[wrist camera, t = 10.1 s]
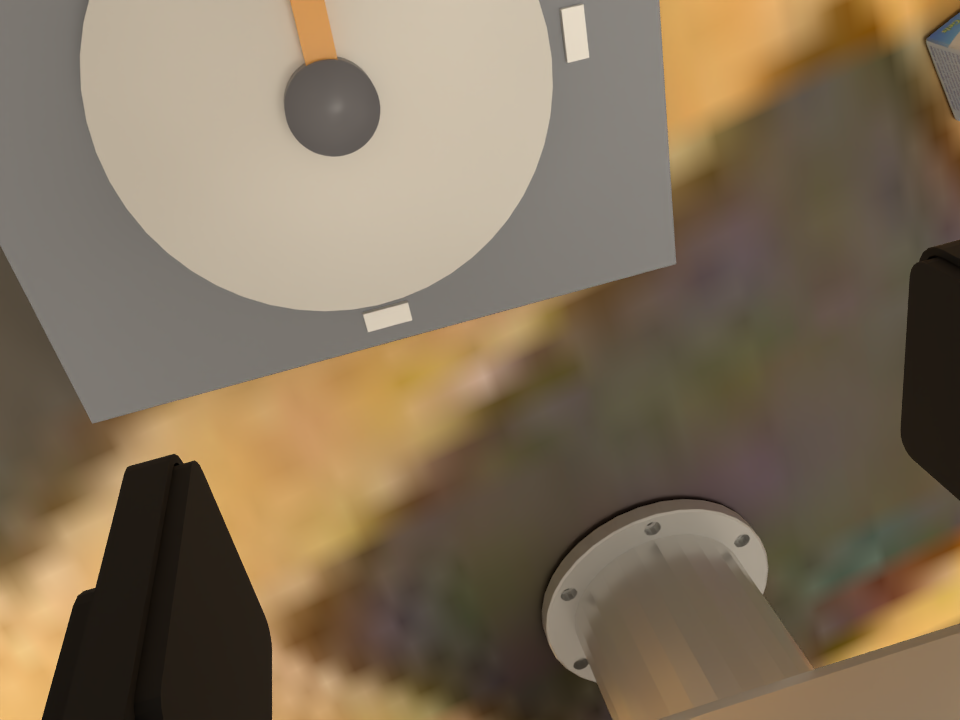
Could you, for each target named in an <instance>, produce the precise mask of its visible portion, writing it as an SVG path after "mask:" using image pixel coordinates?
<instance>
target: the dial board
mask: <svg viewBox="0 0 960 720" xmlns="http://www.w3.org/2000/svg"><path fill="white" fill-rule="evenodd" d="M539 2H540V6H541V9H542V13H543V16H544V20H545V23H546V26H547V31H548V37H549V44H550V50H551V56H552V77H553V92H552V103H551V115H550V121H549V125H548V130H547V135H546V139H545V144H544V147H543V150H542V153H541V156H540V159H539V162H538V165H537V168H536V170H535V173H534V175H533V177H532V179H531V181H530V183H529V185H528V187H527V189H526V191H525V193H524V195H523V197H522V199H521V200H520V202H519V203H518V205H517V206H516V208H515V209H514V211H513V213H512V214H511V216H510V217H509V219H508V220H507V221H506V222H505V224H504V225H503V226H502V227H501V228H500V230H499V231H498V232H497V233H496V234H495V236H494V237H493V238H492V239H491V240H490V241H489V242H488V243H487V244H486V245H485V246H484V247H483V248H482V249H481V250H480V251H479V252H478V253H477V254H476V255H474V256H473V257H472V258H471V259H470V260H468V261H467V262H466V263H464V264H463V265H462V266H460V267H459V268H458V269H456V270H455V271H454V272H452V273H451V274H449V275H448V276H446V277H444V278H442V279H441V280H439V281H437V282H436V283H434V284H432V285H430V286H429V287H427V288H424V289H422V290H420V291H417V292H415V293H413V294H410V295H408V296H406V297H403V298H400V299H397V300H393V301H390V302H387V303H383V304H380V305H376V306H370V307H364V308H359V309H353V310H338V311H311V310H296V309H290V308H285V307H279V306H273V305H269V304H265V303H262V302H259V301H255V300H252V299H248V298H245V297H242V296H240V295H237V294H235V293H233V292H231V291H228V290H226V289H224V288H221V287H219V286H217V285H215V284H213V283H211V282H210V281H208V280H206V279H205V278H203V277H201V276H199V275H198V274H196V273H194V272H192V271H191V270H190V269H188V268H187V267H186V266H184V265H183V264H182V263H180V262H179V261H178V260H176V259H175V258H174V257H172V256H171V255H170V254H168V253H167V252H166V251H165V250H164V249H163V248H162V247H161V246H160V245H159V244H158V243H157V242H156V241H154V240H153V239H152V238H151V237H150V236H149V235H148V234H147V233H146V232H145V231H144V229H143V228H142V227H141V226H140V224H139V223H138V222H137V221H136V220H135V218H134V217H133V216H132V215H131V213H130V212H129V211H128V210H127V209H126V207H125V205H124V204H123V202H122V201H121V199H120V198H119V196H118V194H117V193H116V191H115V190H114V188H113V186H112V185H111V183H110V182H109V179H108V177H107V175H106V173H105V171H104V169H103V166H102V164H101V162H100V160H99V158H98V156H97V153H96V151H95V147H94V144H93V141H92V138H91V135H90V131H89V128H88V125H87V122H86V116H85V110H84V105H83V99H82V93H81V78H80V49H81V40H82V31H83V22H84V18H85V14H86V10H87V6H88V3H89V0H0V246H1V248H2V250H3V251H4V253H5V255H6V257H7V259H8V261H9V263H10V265H11V267H12V269H13V271H14V273H15V275H16V277H17V279H18V281H19V282H20V284H21V286H22V288H23V290H24V292H25V294H26V296H27V298H28V300H29V302H30V304H31V306H32V308H33V310H34V312H35V313H36V315H37V317H38V319H39V321H40V323H41V325H42V327H43V329H44V331H45V333H46V335H47V337H48V339H49V341H50V343H51V344H52V346H53V348H54V350H55V352H56V354H57V356H58V358H59V360H60V362H61V364H62V366H63V368H64V370H65V372H66V374H67V375H68V377H69V379H70V381H71V383H72V385H73V387H74V389H75V391H76V393H77V395H78V397H79V399H80V401H81V403H82V405H83V406H84V408H85V410H86V412H87V414H88V416H89V418H90V420H91V422H92V424H93V423H96V422H100V421H104V420H107V419H111V418H114V417H118V416H122V415H125V414H129V413H133V412H136V411H140V410H144V409H147V408H151V407H155V406H158V405H162V404H166V403H169V402H173V401H177V400H180V399H184V398H188V397H191V396H195V395H199V394H202V393H206V392H210V391H213V390H217V389H220V388H224V387H228V386H231V385H235V384H239V383H242V382H246V381H250V380H253V379H257V378H261V377H264V376H268V375H272V374H275V373H279V372H283V371H286V370H290V369H294V368H297V367H301V366H305V365H308V364H312V363H316V362H319V361H323V360H327V359H330V358H334V357H337V356H341V355H345V354H348V353H352V352H356V351H359V350H363V349H367V348H370V347H374V346H378V345H381V344H385V343H389V342H392V341H396V340H400V339H403V338H407V337H411V336H414V335H418V334H422V333H425V332H429V331H433V330H436V329H440V328H444V327H447V326H451V325H454V324H458V323H462V322H465V321H469V320H473V319H476V318H480V317H484V316H487V315H491V314H495V313H498V312H502V311H506V310H509V309H513V308H517V307H520V306H524V305H528V304H531V303H535V302H539V301H542V300H546V299H550V298H553V297H557V296H561V295H564V294H568V293H571V292H575V291H579V290H582V289H586V288H590V287H593V286H597V285H601V284H604V283H608V282H612V281H615V280H619V279H623V278H626V277H630V276H634V275H637V274H641V273H645V272H648V271H652V270H656V269H659V268H663V267H667V266H670V265H674V264H676V255H675V240H674V224H673V208H672V193H671V177H670V162H669V146H668V130H667V115H666V99H665V84H664V68H663V52H662V37H661V21H660V6H659V0H539Z"/></svg>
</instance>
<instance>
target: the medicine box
mask: <svg viewBox="0 0 960 720" xmlns="http://www.w3.org/2000/svg"><path fill="white" fill-rule="evenodd" d="M926 45H927V47H928V49H929V52H930V55H931V57H932V60H933V63H934V66H935V69H936V71H937V74H938V76H939V78H940V81H941V83H942V86H943V89H944V91H945V94H946V96H947V99H948V102H949V104H950V107H951V109H952V112H953V114H954V117H955V119H956V120H958V121H960V12H959V13H958V14H957V15H955V16H954V17H953V18H951V19H950V20H949V21H948V22H947V23H945V24H944V25H943V26H941V27H940V28H939V29H938V30H936V31H935V32H934V33H932V34H931V35H930V36H929V37H928V38H927V39H926Z"/></svg>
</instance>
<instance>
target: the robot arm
mask: <svg viewBox="0 0 960 720" xmlns="http://www.w3.org/2000/svg"><path fill="white" fill-rule="evenodd" d="M901 438H902V442H903V445H904V447H905V449H906V451H907V453H908V454H909V456H910V457H911V458H912V459H913V460H914V461H915V462H917V463H918V464H919V465H920V466H921V467H922V468H923V469H924V470H926V471H927V472H928V473H929V474H930V475H931V476H932V477H934V478H935V479H936V480H937V481H938V482H939V483H940V484H941V485H943V486H944V487H945V488H946V489H947V490H948V491H949V492H951V493H952V494H953V495H954V496H955V497H956V498H957V499H959V500H960V240H957V241H953V242H949V243H946V244H942V245H938V246H935V247H931V248H928V249H927V250H926V251H924V252H923V254H922V256H921V258H920V261H919V262H918V263H916V264H915V265H914V266H913V268H912V269H911V273H910V282H909V299H908V315H907V332H906V349H905V365H904V382H903V399H902V415H901ZM767 576H768V561H767V554H766V551H765V549H764V546H763V544H762V542H761V540H760V538H759V537H758V535H757V534H756V533H755V531H754V530H753V529H752V527H751V526H750V524H749V523H748V522H747V521H746V520H744V519H743V518H742V517H741V516H740V515H739V514H738V513H736V512H734V511H732V510H731V509H729V508H727V507H725V506H723V505H720V504H716V503H712V502H708V501H704V500H690V499H679V500H670V501H661V502H657V503H653V504H650V505H646V506H642V507H638V508H636V509H634V510H631V511H629V512H627V513H624V514H622V515H619V516H617V517H615V518H614V519H612V520H610V521H609V522H607V523H605V524H604V525H602V526H600V527H598V528H597V529H596V530H594V531H593V532H592V533H591V534H589V535H588V536H587V537H585V538H584V539H583V540H582V541H580V542H579V543H578V544H577V545H576V546H575V547H574V548H573V550H572V551H571V552H570V553H569V554H568V555H567V556H566V557H565V558H564V559H563V561H562V562H561V564H560V565H559V567H558V568H557V570H556V571H555V573H554V574H553V576H552V578H551V580H550V583H549V585H548V587H547V590H546V592H545V595H544V601H543V606H542V623H543V628H544V631H545V634H546V637H547V640H548V643H549V646H550V648H551V649H552V651H553V653H554V655H555V657H556V659H557V660H558V661H559V662H560V663H561V664H562V665H563V666H564V667H565V668H566V669H568V670H569V671H571V672H572V673H574V674H576V675H577V676H579V677H581V678H584V679H587V680H590V681H593V682H596V683H597V684H598V687H599V689H600V692H601V694H602V696H603V699H604V701H605V703H606V706H607V708H608V710H609V713H610V715H611V718H612V720H960V624H957V625H954V626H951V627H948V628H945V629H941V630H938V631H935V632H932V633H929V634H925V635H922V636H919V637H916V638H913V639H910V640H906V641H903V642H900V643H897V644H894V645H890V646H887V647H884V648H881V649H878V650H875V651H871V652H868V653H865V654H862V655H859V656H855V657H852V658H849V659H846V660H843V661H840V662H836V663H833V664H830V665H827V666H824V667H821V668H817V669H813V667H812V666H811V664H810V663H809V661H808V660H807V658H806V657H805V656H804V654H803V653H802V651H801V650H800V648H799V647H798V645H797V644H796V642H795V641H794V640H793V638H792V637H791V635H790V634H789V632H788V631H787V629H786V628H785V627H784V625H783V624H782V622H781V621H780V619H779V618H778V616H777V615H776V614H775V612H774V611H773V609H772V608H771V606H770V605H769V603H768V602H767V600H766V599H765V598H764V596H763V593H764V590H765V587H766V584H767ZM42 720H272V643H271V636H270V631H269V627H268V623H267V620H266V618H265V615H264V613H263V610H262V608H261V606H260V603H259V601H258V599H257V596H256V594H255V592H254V589H253V587H252V585H251V582H250V580H249V578H248V575H247V573H246V571H245V568H244V566H243V564H242V561H241V559H240V557H239V555H238V552H237V550H236V548H235V545H234V543H233V541H232V538H231V536H230V534H229V531H228V529H227V527H226V524H225V522H224V520H223V517H222V515H221V513H220V510H219V508H218V506H217V503H216V501H215V499H214V496H213V494H212V492H211V489H210V487H209V485H208V482H207V480H206V478H205V476H204V473H203V471H202V469H201V467H200V465H199V464H198V463H197V462H196V461H191V462H188V463H184V464H183V462H182V460H181V459H180V458H179V456H177V455H176V454H172V455H168V456H165V457H161V458H157V459H154V460H150V461H146V462H143V463H139V464H135V465H132V466H129V467H127V469H126V471H125V473H124V477H123V481H122V485H121V489H120V493H119V497H118V501H117V505H116V509H115V513H114V517H113V521H112V525H111V529H110V533H109V537H108V541H107V545H106V549H105V553H104V556H103V560H102V564H101V568H100V572H99V576H98V580H97V584H96V588H93V589H89V590H86V591H83V592H82V593H81V594H80V595H78V596H77V599H76V601H75V603H74V605H73V609H72V612H71V616H70V619H69V623H68V627H67V630H66V634H65V637H64V641H63V645H62V648H61V652H60V655H59V659H58V663H57V666H56V670H55V673H54V677H53V681H52V684H51V688H50V691H49V695H48V699H47V702H46V706H45V709H44V713H43V717H42Z"/></svg>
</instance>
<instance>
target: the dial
mask: <svg viewBox="0 0 960 720" xmlns="http://www.w3.org/2000/svg"><path fill="white" fill-rule="evenodd" d="M80 78H81V93H82V99H83V105H84V110H85V116H86V122H87V125H88V128H89V131H90V135H91V138H92V141H93V144H94V147H95V151H96V153H97V156H98V158H99V160H100V162H101V164H102V166H103V169H104V171H105V173H106V175H107V177H108V179H109V182H110V183H111V185H112V186H113V188H114V190H115V191H116V193H117V194H118V196H119V198H120V199H121V201H122V202H123V204H124V205H125V207H126V209H127V210H128V211H129V212H130V213H131V215H132V216H133V217H134V218H135V220H136V221H137V222H138V223H139V224H140V226H141V227H142V228H143V229H144V231H145V232H146V233H147V234H148V235H149V236H150V237H151V238H152V239H153V240H154V241H156V242H157V243H158V244H159V245H160V246H161V247H162V248H163V249H164V250H165V251H166V252H167V253H168V254H170V255H171V256H172V257H174V258H175V259H176V260H178V261H179V262H180V263H182V264H183V265H184V266H186V267H187V268H188V269H190V270H191V271H192V272H194V273H196V274H198V275H199V276H201V277H203V278H205V279H206V280H208V281H210V282H211V283H213V284H215V285H217V286H219V287H221V288H224V289H226V290H228V291H231V292H233V293H235V294H237V295H240V296H242V297H245V298H248V299H252V300H255V301H259V302H262V303H265V304H269V305H273V306H279V307H285V308H290V309H296V310H311V311H338V310H353V309H359V308H364V307H370V306H376V305H380V304H383V303H387V302H390V301H393V300H397V299H400V298H403V297H406V296H408V295H410V294H413V293H415V292H417V291H420V290H422V289H424V288H427V287H429V286H430V285H432V284H434V283H436V282H437V281H439V280H441V279H442V278H444V277H446V276H448V275H449V274H451V273H452V272H454V271H455V270H456V269H458V268H459V267H460V266H462V265H463V264H464V263H466V262H467V261H468V260H470V259H471V258H472V257H473V256H474V255H476V254H477V253H478V252H479V251H480V250H481V249H482V248H483V247H484V246H485V245H486V244H487V243H488V242H489V241H490V240H491V239H492V238H493V237H494V236H495V234H496V233H497V232H498V231H499V230H500V228H501V227H502V226H503V225H504V224H505V222H506V221H507V220H508V219H509V217H510V216H511V214H512V213H513V211H514V209H515V208H516V206H517V205H518V203H519V202H520V200H521V199H522V197H523V195H524V193H525V191H526V189H527V187H528V185H529V183H530V181H531V179H532V177H533V175H534V173H535V170H536V168H537V165H538V162H539V159H540V156H541V153H542V150H543V147H544V144H545V139H546V135H547V130H548V125H549V121H550V115H551V103H552V92H553V77H552V56H551V50H550V44H549V37H548V31H547V26H546V23H545V20H544V16H543V13H542V9H541V6H540V2H539V0H89V3H88V6H87V10H86V14H85V18H84V22H83V31H82V40H81V49H80Z"/></svg>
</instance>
